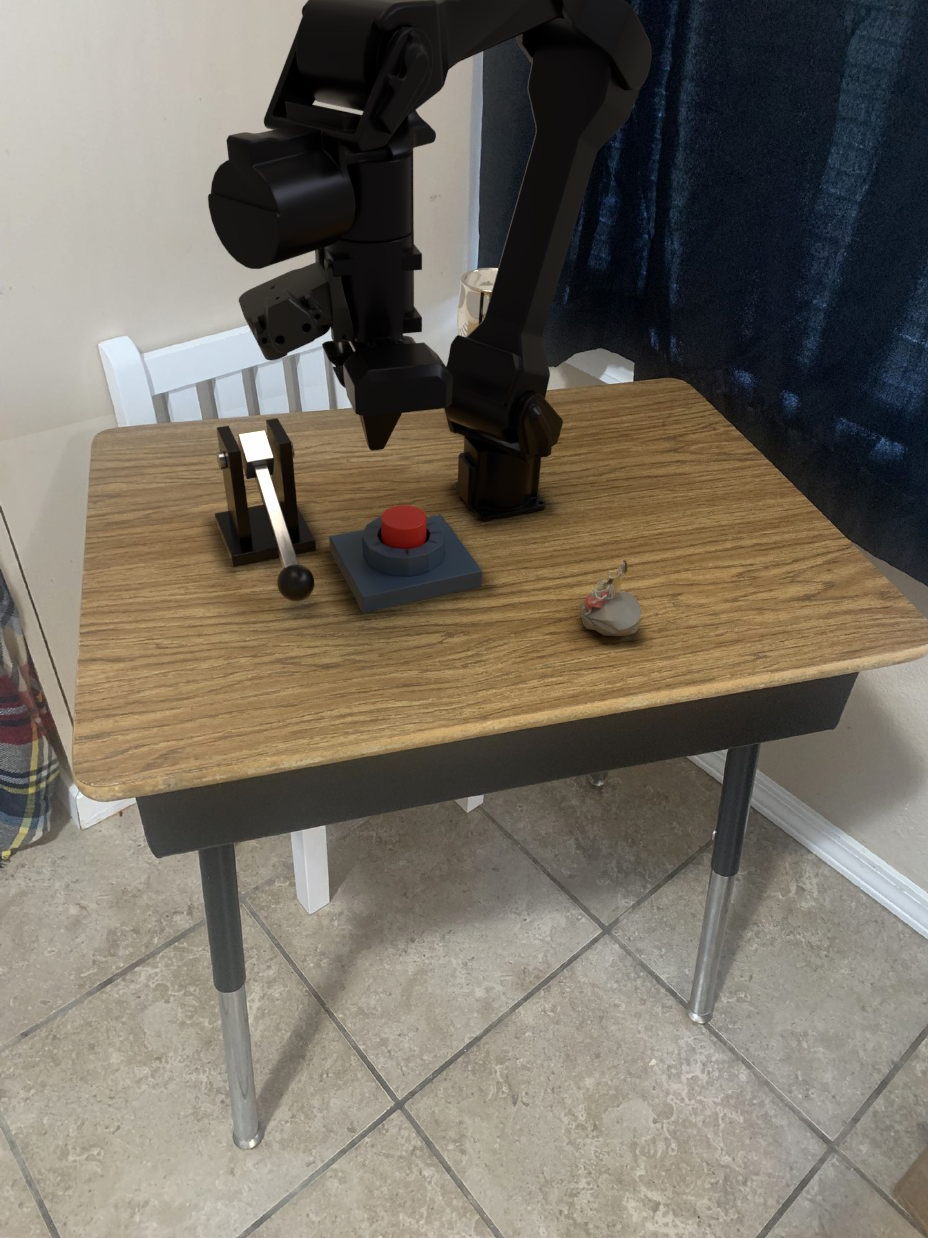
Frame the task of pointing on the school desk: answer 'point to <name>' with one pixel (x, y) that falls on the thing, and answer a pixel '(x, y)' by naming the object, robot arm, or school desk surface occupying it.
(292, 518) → the lever bracket
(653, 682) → the school desk surface
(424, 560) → the button block
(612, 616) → the figurine
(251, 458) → the lever handle
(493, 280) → the silver metal tumbler
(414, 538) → the red button
